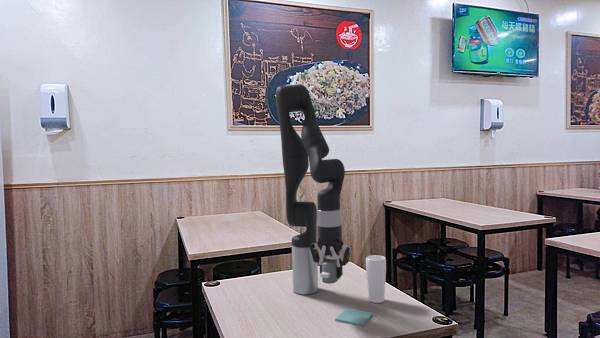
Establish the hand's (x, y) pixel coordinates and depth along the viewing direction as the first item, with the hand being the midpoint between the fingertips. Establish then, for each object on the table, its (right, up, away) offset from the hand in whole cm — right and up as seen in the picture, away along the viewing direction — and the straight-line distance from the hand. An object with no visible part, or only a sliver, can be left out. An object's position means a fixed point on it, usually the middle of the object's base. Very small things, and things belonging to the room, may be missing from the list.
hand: (331, 276), depth 130 cm
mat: (+7, -12, -2) cm, 14 cm away
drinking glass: (+16, -12, +11) cm, 23 cm away
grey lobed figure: (0, -1, 0) cm, 1 cm away
